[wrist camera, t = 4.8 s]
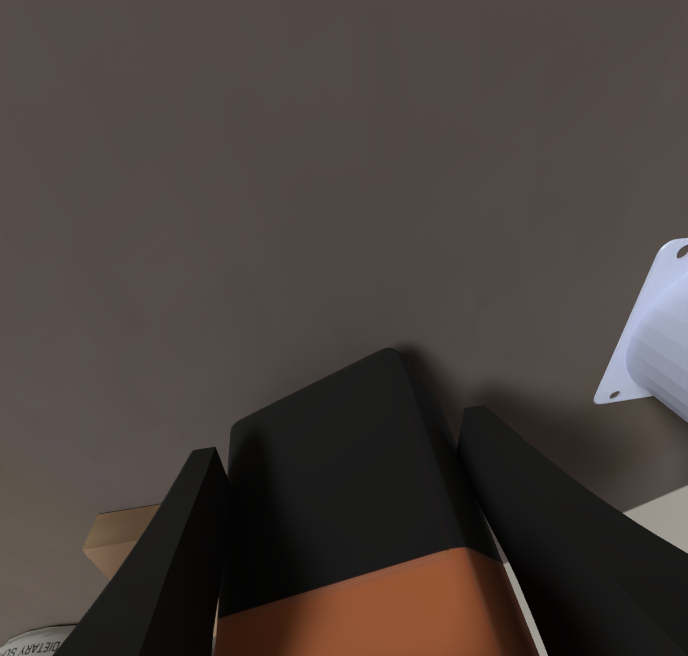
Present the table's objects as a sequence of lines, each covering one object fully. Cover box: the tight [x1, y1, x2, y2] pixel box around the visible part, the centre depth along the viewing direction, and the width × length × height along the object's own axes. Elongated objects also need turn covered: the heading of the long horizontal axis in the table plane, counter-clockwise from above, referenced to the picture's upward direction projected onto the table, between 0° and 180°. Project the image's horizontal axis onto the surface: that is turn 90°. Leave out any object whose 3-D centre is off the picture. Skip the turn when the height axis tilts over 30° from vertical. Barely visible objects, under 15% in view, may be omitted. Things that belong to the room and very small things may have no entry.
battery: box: [215, 348, 539, 656], centre depth 10 cm, size 4×7×10 cm, turn 124°
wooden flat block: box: [82, 504, 219, 637], centre depth 19 cm, size 16×11×2 cm
